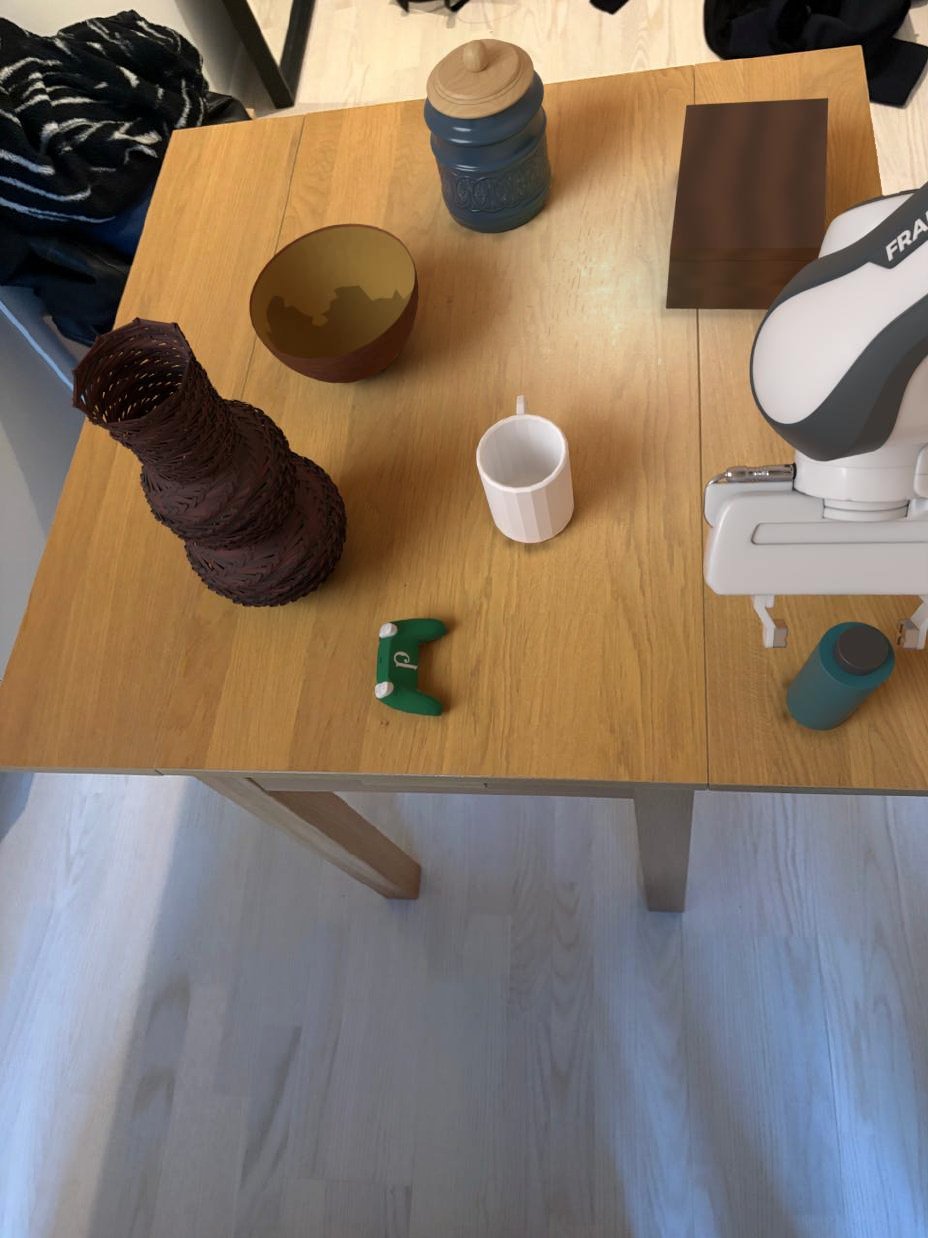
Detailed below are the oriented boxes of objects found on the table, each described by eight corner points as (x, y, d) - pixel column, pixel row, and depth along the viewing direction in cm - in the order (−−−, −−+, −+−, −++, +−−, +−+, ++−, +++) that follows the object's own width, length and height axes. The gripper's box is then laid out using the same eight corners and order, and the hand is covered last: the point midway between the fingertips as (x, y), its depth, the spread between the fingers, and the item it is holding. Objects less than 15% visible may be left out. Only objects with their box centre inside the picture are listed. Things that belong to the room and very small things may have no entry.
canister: (465, 251, 92) (433, 106, 76) (431, 182, 98) (394, 32, 82) (569, 208, 92) (559, 53, 76) (529, 140, 97) (511, -18, 81)
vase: (381, 499, 82) (261, 278, 54) (349, 638, 76) (198, 471, 49) (246, 491, 85) (70, 279, 58) (206, 624, 80) (-8, 460, 53)
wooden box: (811, 167, 88) (828, 97, 81) (806, 309, 81) (824, 247, 74) (681, 171, 91) (686, 104, 84) (665, 308, 84) (670, 248, 77)
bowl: (468, 336, 88) (451, 266, 79) (360, 447, 85) (328, 388, 76) (360, 271, 94) (332, 200, 85) (256, 372, 91) (215, 309, 82)
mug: (569, 435, 81) (563, 371, 72) (576, 540, 76) (570, 486, 67) (491, 443, 82) (475, 382, 73) (493, 547, 77) (476, 495, 68)
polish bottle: (849, 676, 67) (902, 616, 54) (849, 734, 65) (903, 685, 53) (787, 669, 68) (824, 609, 56) (784, 726, 66) (822, 677, 54)
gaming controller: (429, 631, 77) (375, 616, 74) (451, 619, 74) (395, 604, 71) (425, 723, 74) (367, 712, 71) (447, 715, 71) (388, 703, 68)
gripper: (709, 477, 53) (700, 662, 59) (1051, 467, 49) (1008, 666, 55) (700, 457, 59) (693, 627, 64) (1007, 447, 55) (971, 629, 60)
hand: (840, 645), depth 59 cm, fingers open, 8 cm apart
